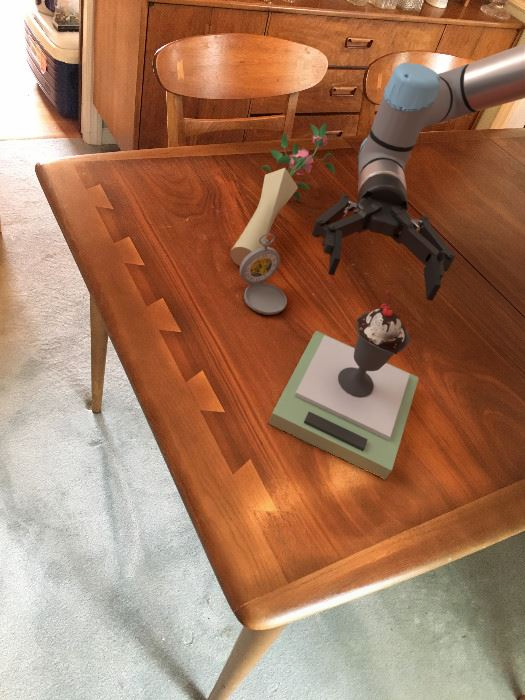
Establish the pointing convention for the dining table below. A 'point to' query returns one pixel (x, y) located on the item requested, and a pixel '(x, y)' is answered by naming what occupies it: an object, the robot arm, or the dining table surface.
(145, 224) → the dining table surface
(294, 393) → the scale
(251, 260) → the pocket watch
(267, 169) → the flower vase
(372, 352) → the sundae
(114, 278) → the dining table surface
